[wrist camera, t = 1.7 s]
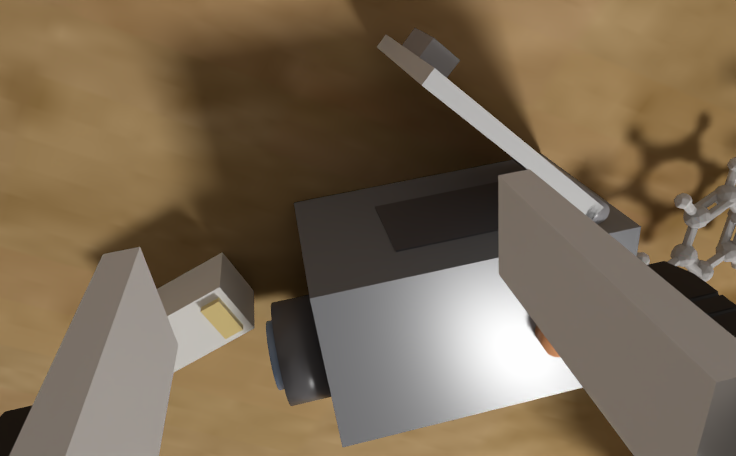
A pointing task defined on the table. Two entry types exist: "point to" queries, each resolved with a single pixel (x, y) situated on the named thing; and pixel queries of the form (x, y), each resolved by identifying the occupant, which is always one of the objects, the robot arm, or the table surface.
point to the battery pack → (207, 308)
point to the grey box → (413, 308)
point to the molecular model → (699, 218)
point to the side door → (483, 115)
